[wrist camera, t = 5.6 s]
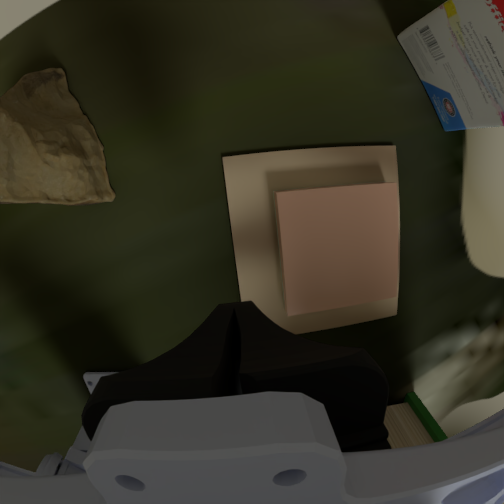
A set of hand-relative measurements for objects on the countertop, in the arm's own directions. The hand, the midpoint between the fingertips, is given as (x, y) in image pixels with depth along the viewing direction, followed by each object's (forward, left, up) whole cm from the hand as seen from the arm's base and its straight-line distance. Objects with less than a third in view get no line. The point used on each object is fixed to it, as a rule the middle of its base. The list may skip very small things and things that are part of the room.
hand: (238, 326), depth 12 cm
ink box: (+13, -18, -10) cm, 24 cm away
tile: (0, -3, -9) cm, 9 cm away
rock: (+10, +10, -10) cm, 18 cm away
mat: (0, -6, -10) cm, 12 cm away
